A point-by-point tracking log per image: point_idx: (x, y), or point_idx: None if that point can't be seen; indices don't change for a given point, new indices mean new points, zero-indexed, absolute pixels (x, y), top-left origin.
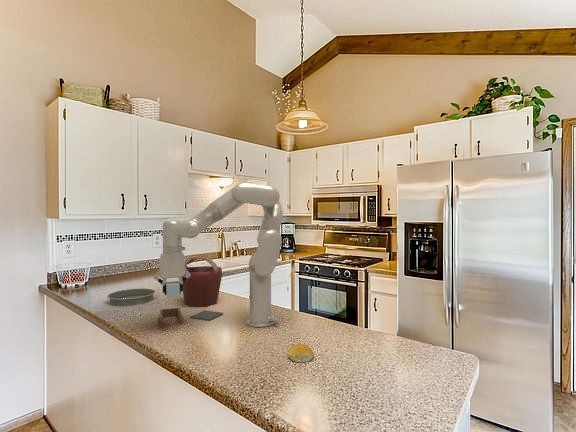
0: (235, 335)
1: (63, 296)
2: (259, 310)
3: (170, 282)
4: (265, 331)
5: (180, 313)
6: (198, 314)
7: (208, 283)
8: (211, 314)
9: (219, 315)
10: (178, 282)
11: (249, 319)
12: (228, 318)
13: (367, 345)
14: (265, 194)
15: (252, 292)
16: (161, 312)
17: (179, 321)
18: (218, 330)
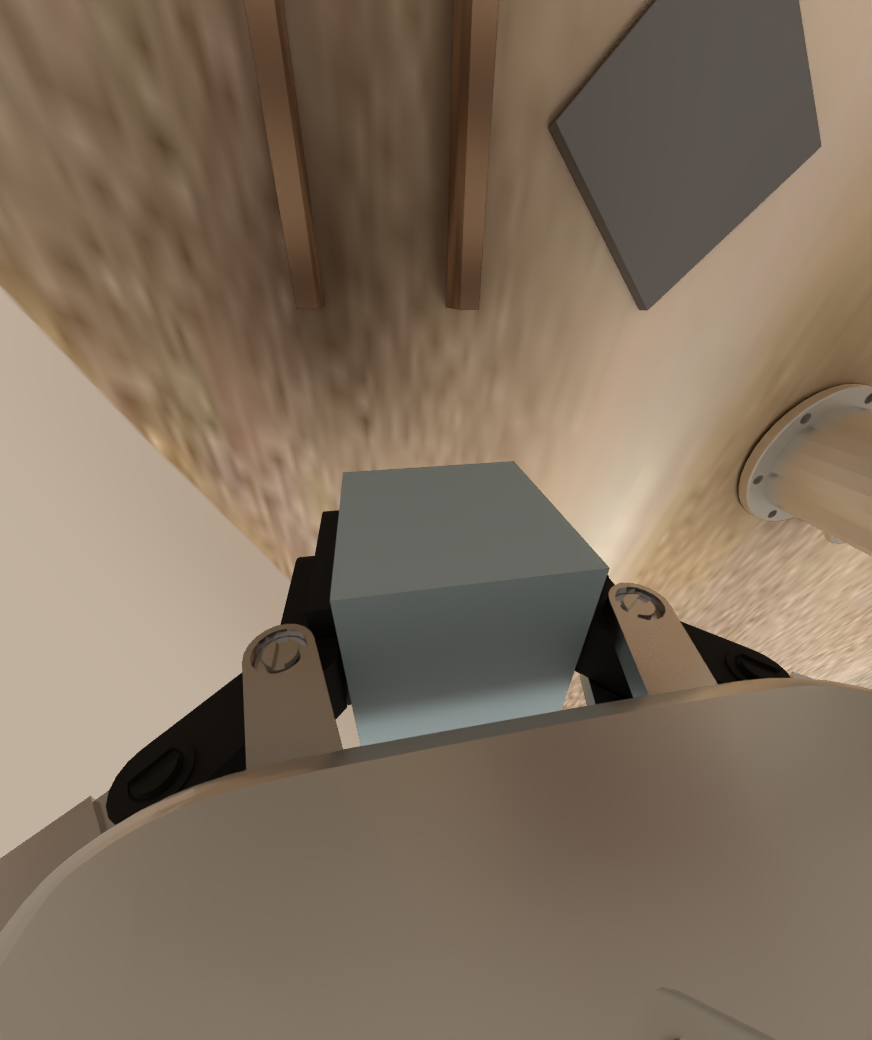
0: (629, 563)
1: None
2: (841, 540)
3: (434, 647)
4: (734, 553)
5: (478, 183)
6: (643, 76)
7: None
8: (725, 154)
9: (758, 200)
10: (567, 672)
11: (795, 431)
12: (757, 299)
13: (812, 674)
14: None
15: None
16: None
17: (449, 252)
18: (604, 494)
